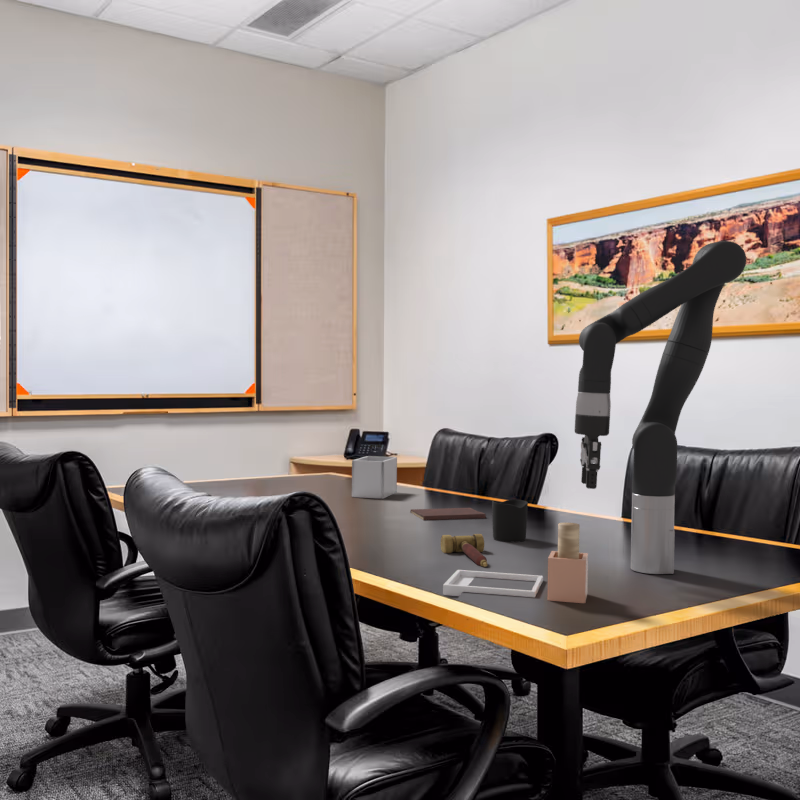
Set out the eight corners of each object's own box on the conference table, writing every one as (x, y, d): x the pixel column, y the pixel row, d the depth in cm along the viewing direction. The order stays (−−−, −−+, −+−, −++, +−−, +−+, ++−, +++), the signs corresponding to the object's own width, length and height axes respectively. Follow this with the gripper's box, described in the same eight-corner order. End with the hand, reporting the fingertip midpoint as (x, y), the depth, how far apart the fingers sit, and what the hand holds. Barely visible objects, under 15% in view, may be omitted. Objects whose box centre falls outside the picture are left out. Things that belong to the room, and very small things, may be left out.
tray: (542, 585, 179) (542, 575, 179) (534, 602, 165) (535, 591, 165) (457, 579, 183) (457, 569, 183) (443, 594, 170) (443, 584, 170)
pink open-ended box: (587, 599, 168) (588, 553, 168) (585, 608, 161) (585, 560, 161) (550, 596, 170) (551, 550, 170) (547, 605, 163) (548, 557, 163)
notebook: (410, 514, 273) (410, 508, 272) (469, 512, 278) (469, 506, 277) (423, 522, 258) (423, 515, 258) (485, 520, 263) (485, 513, 263)
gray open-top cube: (396, 492, 320) (397, 457, 319) (383, 498, 303) (383, 461, 302) (366, 490, 323) (367, 456, 322) (351, 497, 306) (352, 460, 305)
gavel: (507, 554, 195) (464, 556, 193) (506, 574, 196) (464, 576, 194) (479, 531, 216) (440, 533, 214) (478, 549, 216) (440, 551, 214)
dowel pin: (578, 595, 167) (580, 523, 166) (577, 600, 163) (578, 526, 163) (558, 593, 168) (559, 522, 168) (556, 598, 164) (557, 525, 164)
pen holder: (526, 543, 224) (526, 505, 224) (489, 541, 226) (490, 503, 226) (528, 536, 233) (528, 500, 233) (493, 535, 235) (493, 498, 235)
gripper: (614, 415, 184) (610, 491, 185) (605, 412, 198) (601, 483, 199) (579, 413, 185) (574, 489, 185) (572, 411, 199) (568, 481, 199)
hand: (588, 486), depth 192 cm, fingers open, 8 cm apart
